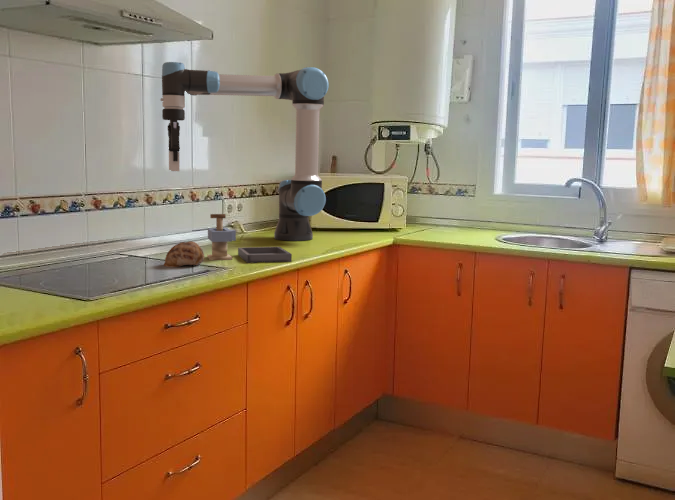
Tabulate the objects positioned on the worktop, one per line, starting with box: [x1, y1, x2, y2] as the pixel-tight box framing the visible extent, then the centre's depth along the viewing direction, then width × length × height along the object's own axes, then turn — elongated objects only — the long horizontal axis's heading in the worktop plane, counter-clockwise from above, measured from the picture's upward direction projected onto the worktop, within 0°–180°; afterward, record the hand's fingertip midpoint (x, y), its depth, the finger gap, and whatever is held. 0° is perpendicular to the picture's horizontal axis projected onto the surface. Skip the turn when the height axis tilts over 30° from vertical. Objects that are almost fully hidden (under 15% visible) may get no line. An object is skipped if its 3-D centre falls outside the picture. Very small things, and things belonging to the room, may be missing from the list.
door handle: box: [206, 213, 233, 261], centre depth 232 cm, size 7×7×14 cm
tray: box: [237, 246, 293, 264], centre depth 234 cm, size 14×17×2 cm
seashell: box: [163, 240, 205, 268], centre depth 217 cm, size 10×9×10 cm
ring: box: [207, 227, 237, 243], centre depth 232 cm, size 10×8×3 cm
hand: (174, 170), depth 252 cm, fingers open, 13 cm apart
